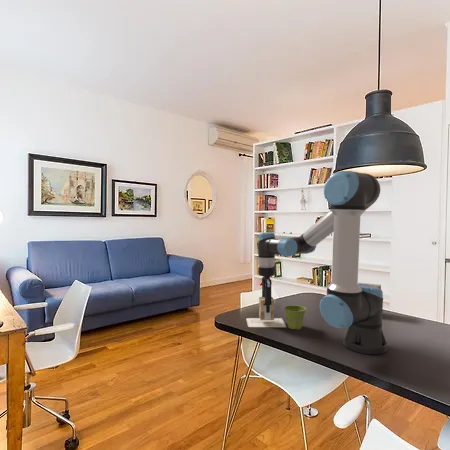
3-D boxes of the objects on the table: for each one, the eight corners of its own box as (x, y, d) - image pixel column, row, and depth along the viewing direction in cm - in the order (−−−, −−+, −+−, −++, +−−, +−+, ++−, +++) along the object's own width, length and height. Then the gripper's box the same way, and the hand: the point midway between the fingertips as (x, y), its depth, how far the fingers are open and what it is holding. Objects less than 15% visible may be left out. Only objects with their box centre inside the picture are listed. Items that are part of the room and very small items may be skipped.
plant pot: (297, 333, 136) (297, 312, 136) (279, 327, 143) (279, 307, 143) (310, 328, 142) (310, 308, 142) (292, 322, 150) (292, 303, 149)
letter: (286, 327, 143) (286, 327, 143) (248, 327, 143) (248, 326, 143) (281, 318, 155) (281, 318, 155) (246, 318, 155) (246, 318, 155)
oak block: (274, 320, 145) (274, 300, 145) (260, 320, 145) (260, 300, 145) (272, 316, 151) (272, 296, 151) (259, 316, 151) (259, 297, 151)
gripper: (278, 269, 138) (278, 323, 139) (271, 263, 157) (271, 311, 158) (260, 269, 138) (260, 323, 139) (256, 263, 157) (256, 311, 158)
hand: (266, 317), depth 148 cm, fingers closed on oak block, 6 cm apart
